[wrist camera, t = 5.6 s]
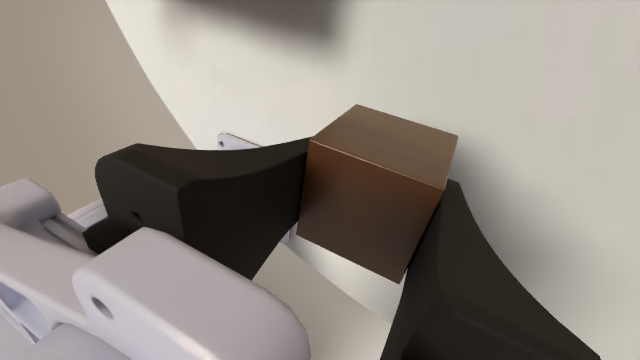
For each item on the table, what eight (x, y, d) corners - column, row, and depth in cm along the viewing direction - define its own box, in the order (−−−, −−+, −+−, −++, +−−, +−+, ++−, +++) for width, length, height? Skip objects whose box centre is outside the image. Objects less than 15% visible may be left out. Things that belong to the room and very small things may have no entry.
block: (421, 218, 13) (399, 285, 10) (338, 184, 14) (295, 235, 11) (458, 135, 11) (445, 188, 8) (356, 103, 12) (308, 139, 9)
